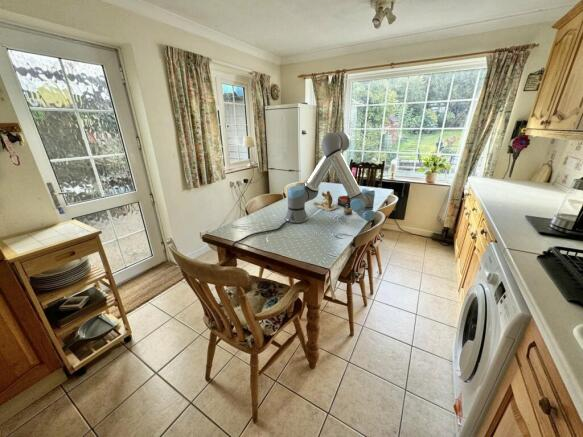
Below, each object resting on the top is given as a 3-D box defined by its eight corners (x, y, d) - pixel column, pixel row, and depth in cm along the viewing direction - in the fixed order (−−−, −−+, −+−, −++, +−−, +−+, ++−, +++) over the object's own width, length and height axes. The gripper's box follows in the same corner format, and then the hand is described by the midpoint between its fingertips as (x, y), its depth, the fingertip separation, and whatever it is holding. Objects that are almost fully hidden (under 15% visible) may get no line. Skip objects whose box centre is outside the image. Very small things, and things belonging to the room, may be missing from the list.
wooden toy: (338, 208, 187) (339, 191, 182) (329, 211, 181) (330, 194, 176) (319, 202, 204) (320, 186, 199) (310, 204, 198) (311, 188, 193)
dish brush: (352, 214, 174) (353, 193, 168) (346, 214, 173) (348, 193, 167) (348, 211, 179) (350, 191, 174) (343, 212, 179) (344, 191, 173)
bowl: (343, 207, 189) (344, 201, 187) (334, 203, 200) (334, 196, 198) (357, 205, 194) (357, 198, 192) (347, 201, 205) (347, 194, 203)
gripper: (341, 215, 156) (330, 205, 175) (376, 212, 160) (361, 203, 179) (342, 204, 153) (331, 195, 172) (377, 201, 157) (362, 193, 176)
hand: (346, 199), depth 176 cm, fingers open, 13 cm apart
